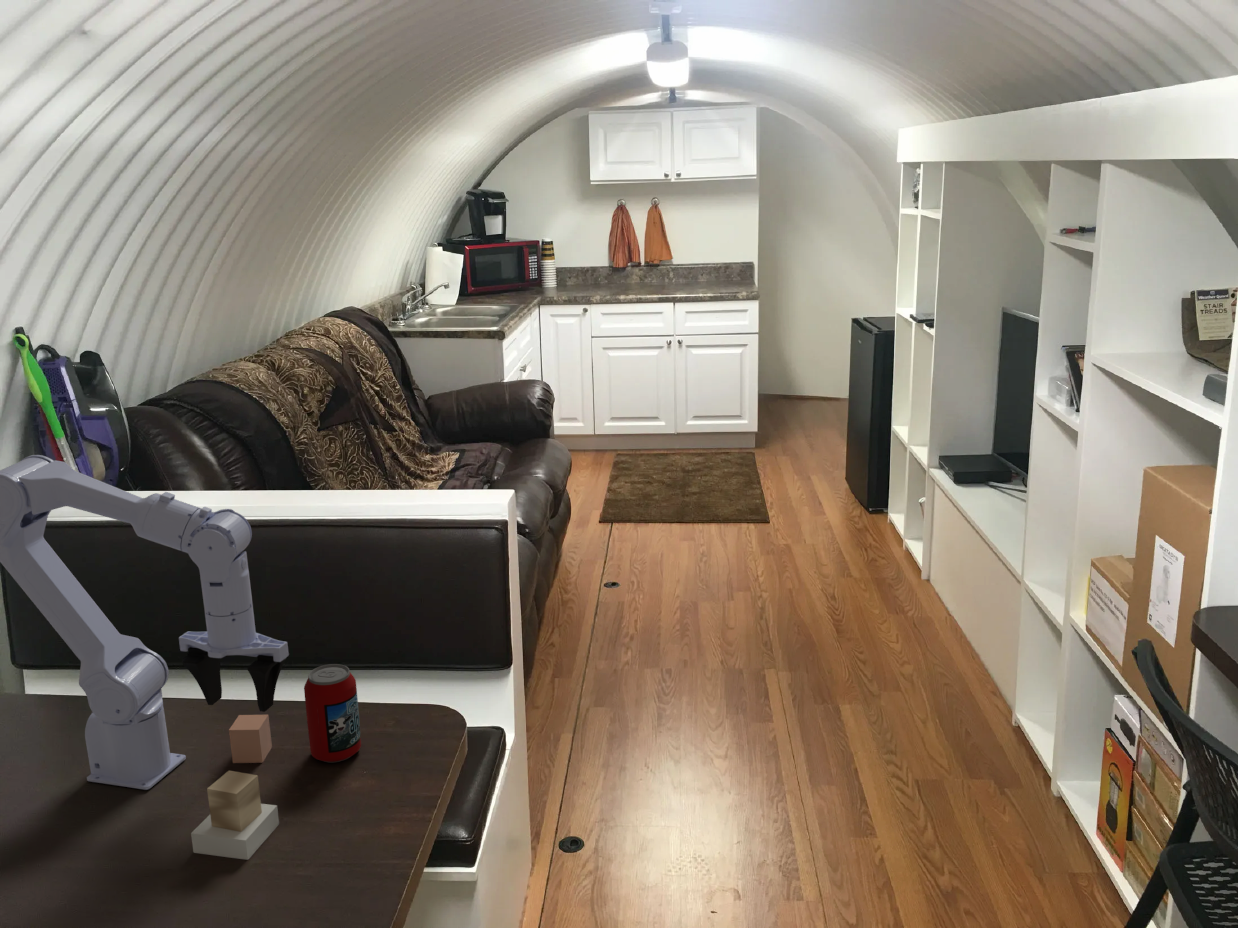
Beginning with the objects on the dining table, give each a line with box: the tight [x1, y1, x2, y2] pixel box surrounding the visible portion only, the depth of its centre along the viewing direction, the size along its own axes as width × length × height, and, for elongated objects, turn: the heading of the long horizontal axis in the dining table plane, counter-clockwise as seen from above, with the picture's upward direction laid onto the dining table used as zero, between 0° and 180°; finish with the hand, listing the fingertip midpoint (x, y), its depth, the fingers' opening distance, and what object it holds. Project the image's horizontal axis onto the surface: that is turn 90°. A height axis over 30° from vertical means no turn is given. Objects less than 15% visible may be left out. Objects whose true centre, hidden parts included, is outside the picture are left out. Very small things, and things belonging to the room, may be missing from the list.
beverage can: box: [303, 663, 362, 764], centre depth 140 cm, size 7×7×12 cm
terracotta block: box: [228, 714, 273, 764], centre depth 141 cm, size 4×4×5 cm
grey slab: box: [190, 803, 280, 861], centre depth 124 cm, size 7×7×3 cm
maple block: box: [206, 770, 262, 832], centre depth 123 cm, size 4×4×5 cm
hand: (240, 704), depth 135 cm, fingers open, 7 cm apart
